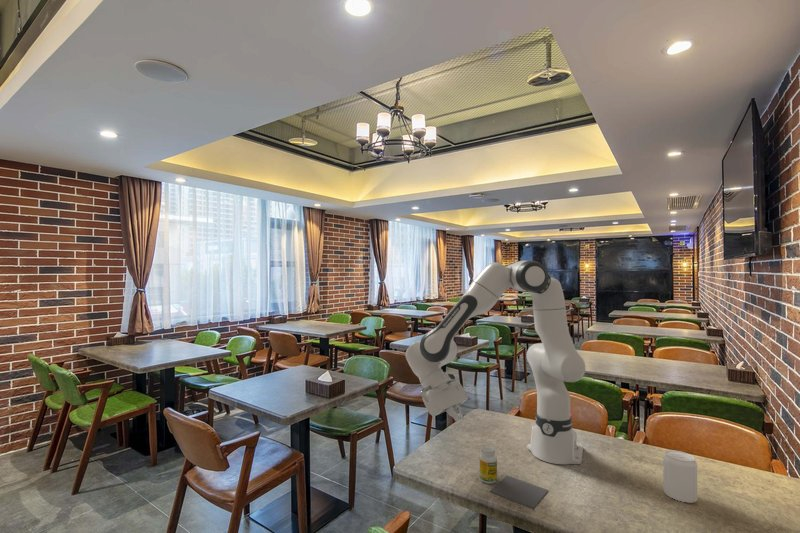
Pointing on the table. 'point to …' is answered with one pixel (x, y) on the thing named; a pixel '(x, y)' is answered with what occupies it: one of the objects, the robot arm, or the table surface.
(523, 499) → the rubber mat
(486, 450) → the supplement bottle
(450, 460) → the table surface
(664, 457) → the beverage can
